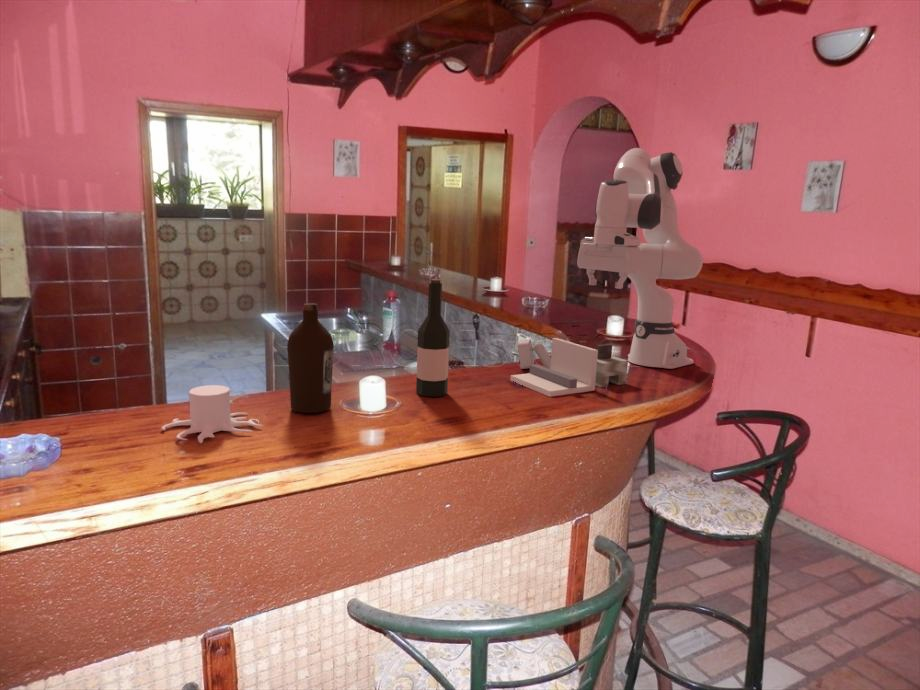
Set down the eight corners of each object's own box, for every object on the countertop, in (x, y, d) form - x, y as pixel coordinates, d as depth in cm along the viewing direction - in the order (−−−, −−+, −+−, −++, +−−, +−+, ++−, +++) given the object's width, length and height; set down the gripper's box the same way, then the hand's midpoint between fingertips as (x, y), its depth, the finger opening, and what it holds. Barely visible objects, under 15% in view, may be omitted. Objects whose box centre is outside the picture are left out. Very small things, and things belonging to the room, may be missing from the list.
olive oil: (282, 413, 150) (281, 306, 145) (294, 399, 161) (293, 299, 156) (328, 415, 150) (328, 308, 145) (337, 401, 161) (337, 301, 156)
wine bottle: (429, 386, 178) (432, 277, 172) (453, 392, 173) (458, 280, 167) (409, 392, 171) (412, 279, 165) (434, 398, 167) (438, 282, 161)
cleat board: (553, 375, 196) (556, 337, 194) (594, 390, 181) (598, 350, 179) (510, 380, 188) (512, 341, 186) (549, 396, 173) (552, 354, 171)
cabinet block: (601, 375, 198) (605, 340, 196) (625, 383, 190) (629, 347, 188) (576, 378, 193) (579, 342, 191) (600, 387, 185) (603, 349, 183)
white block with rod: (555, 372, 197) (551, 340, 195) (521, 375, 199) (517, 344, 198) (556, 366, 205) (552, 335, 203) (524, 369, 207) (520, 339, 205)
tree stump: (270, 431, 139) (269, 395, 138) (174, 447, 128) (172, 408, 126) (241, 406, 155) (240, 373, 153) (153, 419, 144) (151, 383, 142)
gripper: (574, 236, 190) (570, 283, 193) (632, 239, 175) (627, 290, 177) (588, 236, 194) (584, 282, 197) (646, 240, 179) (641, 290, 181)
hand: (605, 286), depth 187 cm, fingers open, 8 cm apart
